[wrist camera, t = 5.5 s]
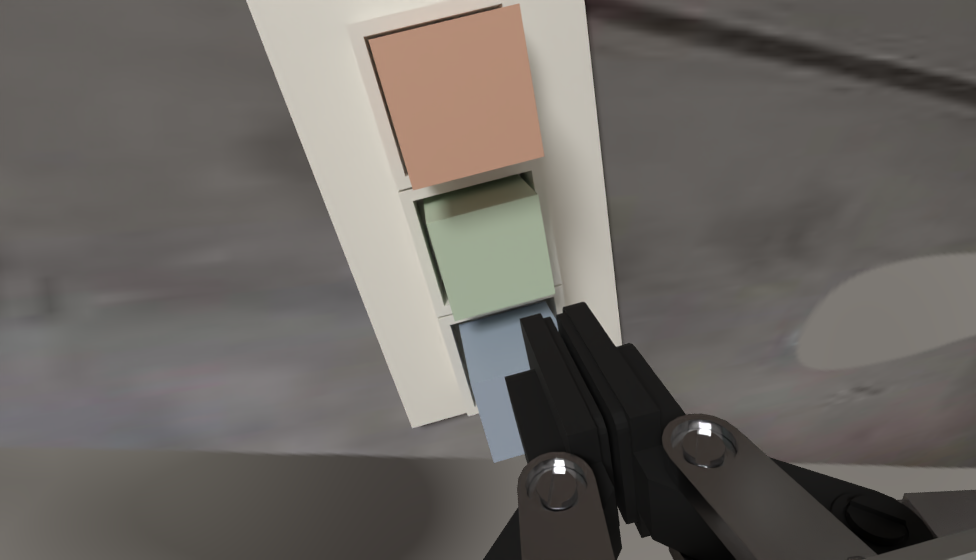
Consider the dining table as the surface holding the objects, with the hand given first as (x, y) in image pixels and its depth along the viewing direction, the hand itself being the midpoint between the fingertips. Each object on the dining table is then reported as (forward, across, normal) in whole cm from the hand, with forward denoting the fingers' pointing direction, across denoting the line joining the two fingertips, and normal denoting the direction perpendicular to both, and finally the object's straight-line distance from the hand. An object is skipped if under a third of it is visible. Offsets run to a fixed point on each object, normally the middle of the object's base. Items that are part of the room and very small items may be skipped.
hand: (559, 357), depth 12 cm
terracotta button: (+11, +1, -6) cm, 13 cm away
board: (+15, +1, +1) cm, 15 cm away
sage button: (+13, +1, +1) cm, 13 cm away
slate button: (+11, +1, +7) cm, 13 cm away
